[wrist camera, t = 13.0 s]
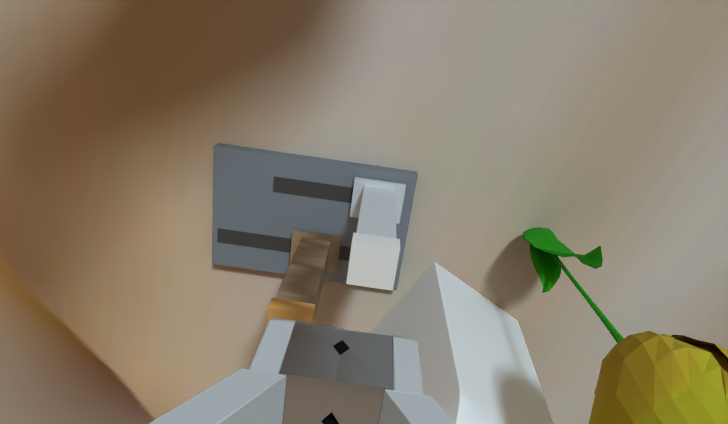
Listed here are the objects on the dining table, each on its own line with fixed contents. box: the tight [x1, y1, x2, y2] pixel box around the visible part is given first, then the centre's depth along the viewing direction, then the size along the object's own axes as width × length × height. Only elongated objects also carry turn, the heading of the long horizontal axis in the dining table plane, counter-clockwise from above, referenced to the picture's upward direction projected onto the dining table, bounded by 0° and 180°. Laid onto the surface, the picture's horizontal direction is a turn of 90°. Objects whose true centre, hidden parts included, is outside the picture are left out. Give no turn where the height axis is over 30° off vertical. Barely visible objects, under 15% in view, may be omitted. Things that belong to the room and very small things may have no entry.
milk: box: [370, 262, 553, 424], centre depth 41 cm, size 12×12×26 cm
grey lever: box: [346, 177, 406, 291], centre depth 40 cm, size 5×4×14 cm
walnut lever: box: [266, 229, 341, 326], centre depth 42 cm, size 5×4×14 cm
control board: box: [212, 143, 417, 290], centre depth 48 cm, size 20×13×2 cm, turn 82°
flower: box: [523, 227, 728, 424], centre depth 34 cm, size 9×8×30 cm
